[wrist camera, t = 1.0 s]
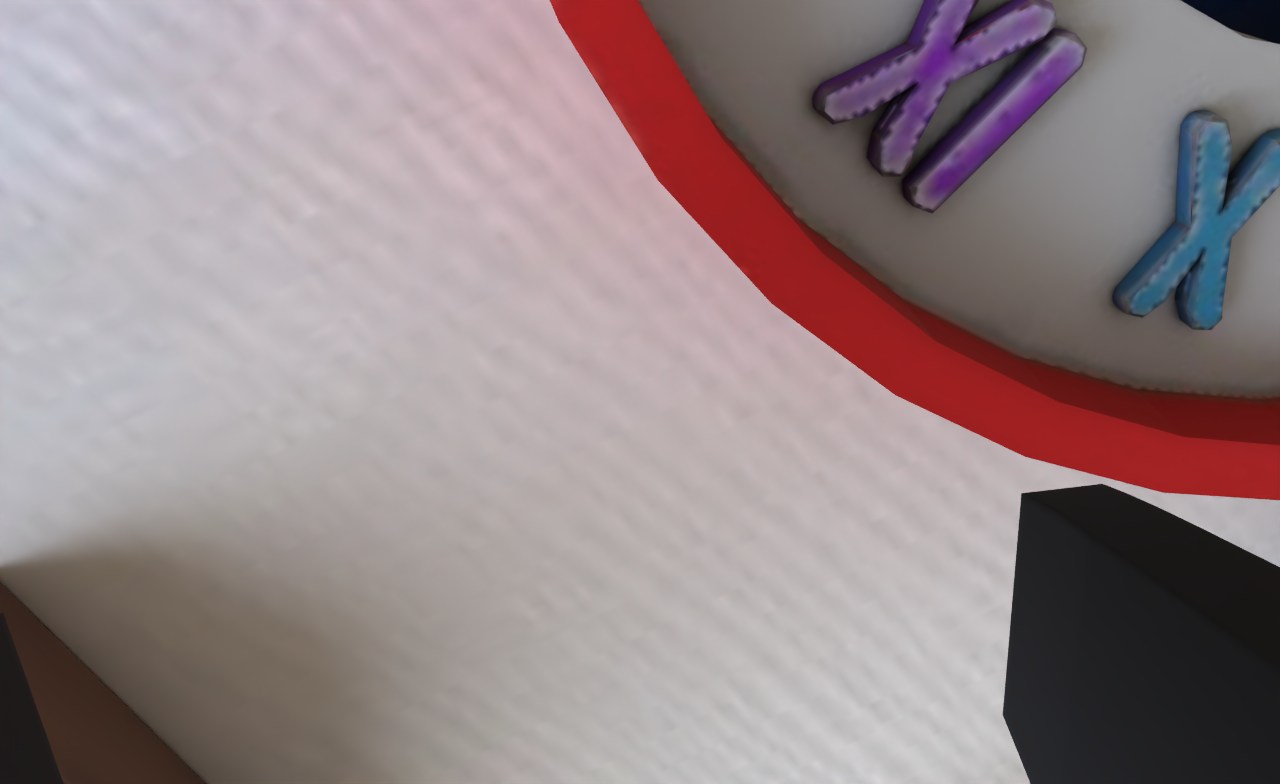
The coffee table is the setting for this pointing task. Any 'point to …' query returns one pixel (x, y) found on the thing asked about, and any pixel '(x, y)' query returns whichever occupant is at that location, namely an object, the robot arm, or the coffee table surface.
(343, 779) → the coffee table surface
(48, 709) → the button block
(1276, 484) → the toy clock
